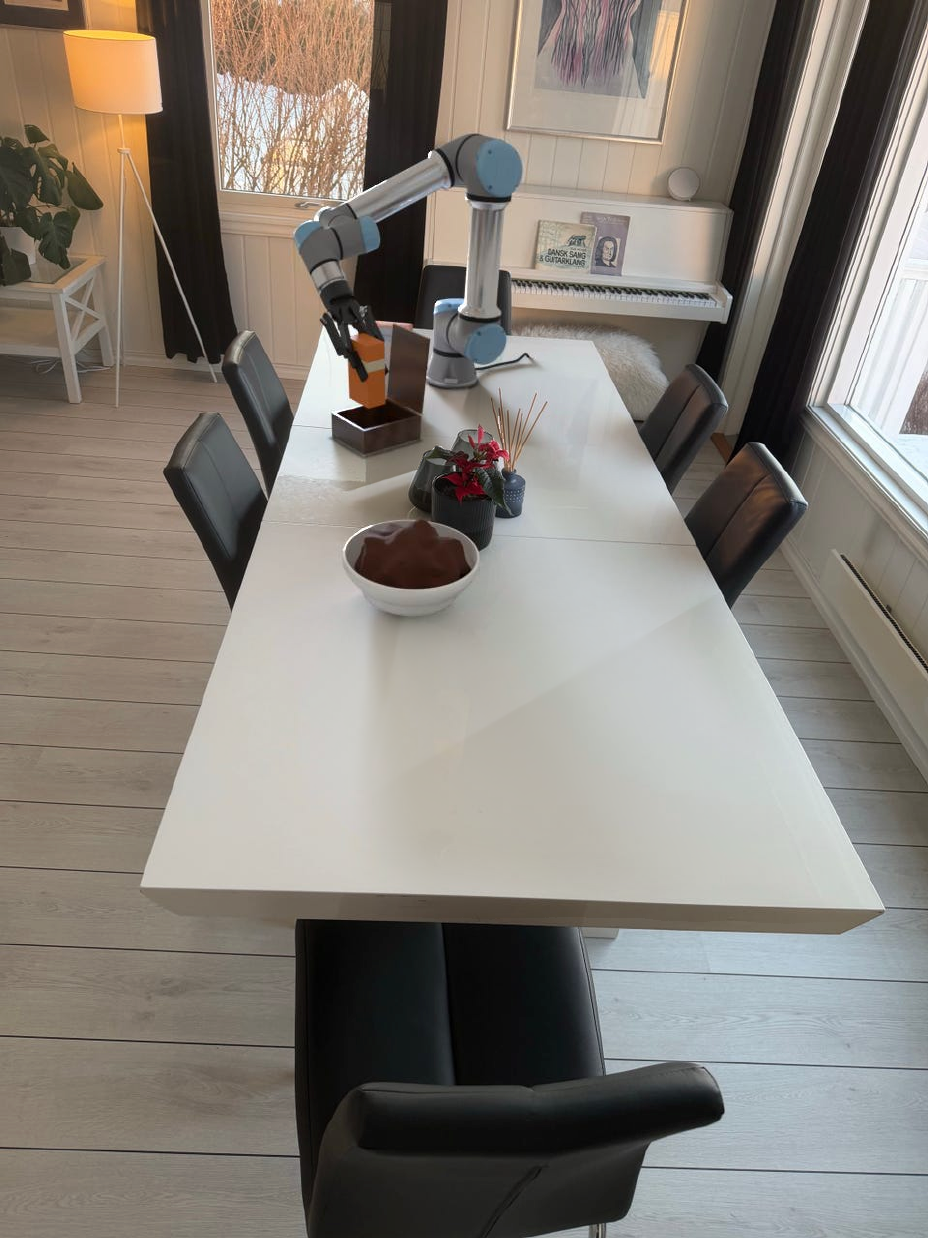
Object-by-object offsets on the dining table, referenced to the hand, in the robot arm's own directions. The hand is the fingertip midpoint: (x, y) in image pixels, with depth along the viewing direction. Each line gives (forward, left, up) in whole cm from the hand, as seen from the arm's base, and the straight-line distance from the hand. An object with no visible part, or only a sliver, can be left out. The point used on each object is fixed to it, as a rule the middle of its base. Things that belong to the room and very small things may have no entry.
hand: (375, 376), depth 200 cm
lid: (-13, -4, -2) cm, 13 cm away
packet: (0, -4, -7) cm, 8 cm away
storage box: (-3, -4, -18) cm, 19 cm away
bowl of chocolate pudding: (+34, +56, -18) cm, 68 cm away
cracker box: (-21, -24, -18) cm, 37 cm away
